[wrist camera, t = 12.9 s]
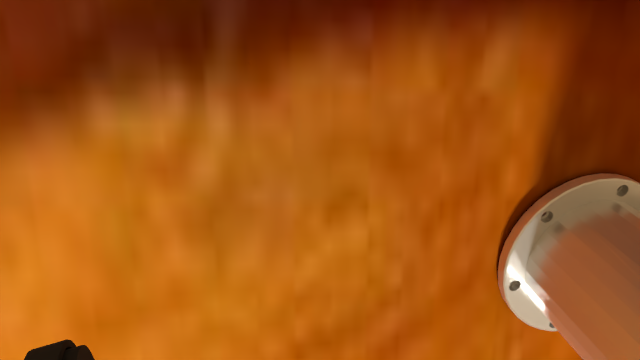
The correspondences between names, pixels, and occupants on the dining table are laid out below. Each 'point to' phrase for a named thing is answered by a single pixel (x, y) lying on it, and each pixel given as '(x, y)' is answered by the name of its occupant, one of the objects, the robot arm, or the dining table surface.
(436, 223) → the dining table surface
